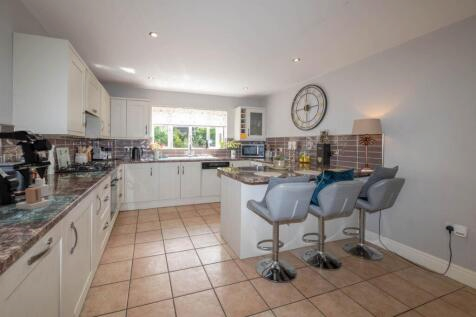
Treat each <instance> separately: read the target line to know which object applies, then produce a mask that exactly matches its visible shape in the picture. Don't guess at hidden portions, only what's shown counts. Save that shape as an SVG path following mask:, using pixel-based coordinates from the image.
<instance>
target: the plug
mask: <svg viewBox="0 0 476 317" xmlns="http://www.w3.org/2000/svg"><path fill="white" fill-rule="evenodd" d="M24 190H25V202H26V203H27V204H34V203H38V202H42V197H41V188H37V187H33V188H29V187H27V188H25V189H24Z"/></svg>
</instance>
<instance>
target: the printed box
mask: <svg viewBox="0 0 476 317" xmlns="http://www.w3.org/2000/svg"><path fill="white" fill-rule="evenodd" d="M33 187H37V188H41V198H44V197H49V196H50V186H49V184H46V179H45V177H44V178H43V179H41V178H40V177H34V178H32V179H31V185H28V188H33Z"/></svg>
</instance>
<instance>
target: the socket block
mask: <svg viewBox="0 0 476 317" xmlns="http://www.w3.org/2000/svg"><path fill="white" fill-rule="evenodd" d="M41 199H42V198H41ZM15 205H16V206H15V207H16V209H17V210H18V209H20V210H30V211H32V210H35V209H36V210H37V209H39V208H42V207H43V208H44V207H47V206H51V205H52V200H51V199H42V202H38V203H34V204H27V203H26V201H22V202H18V203H17V202H16V204H15Z"/></svg>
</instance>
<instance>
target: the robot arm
mask: <svg viewBox="0 0 476 317" xmlns="http://www.w3.org/2000/svg"><path fill="white" fill-rule="evenodd" d="M0 139H3V140H5V139H6V140H7V139H9V140H15V141H18V142H17V143H16V144H15V146H19V147H21V152H22V154H21V155H20V157H21V158H23V162H21V163H14V164H13V165H12V168H13V170H15V171H17V173H19V174H20V175H21V176H22V177H23V178H24V179H26V181H31V180H30V179H31V178H30V169H31V167H35V170H36V172H37V175H38V176H39V178H41V179H43V178H45V173H46V170H47V169H48V168H49V167H50V166H52V162H51V160H49V157H45V156H40V154H39V153H37V152H46V151H51V150H52V149H53V144H52V143H51V141H50V140H49V138H43V139H40V138H39V137H37V136H36V135H35V133H34V132H33V131H32V130H24V129H22V130H14V131H11V132H10V131H7V132H5V131H3V132H2V131H0ZM24 141H25V142H24ZM19 187H20V181H19V179H18V178H17V177H16V176H15V175H14V174H10V175H9V174H7V173H6V172H5V171H4V170H3V169H2V167H0V206H8V205H12V204H14V203H17V202H18V201H17V200H16V194H15V192H16V191H17V189H18V188H19Z"/></svg>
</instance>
